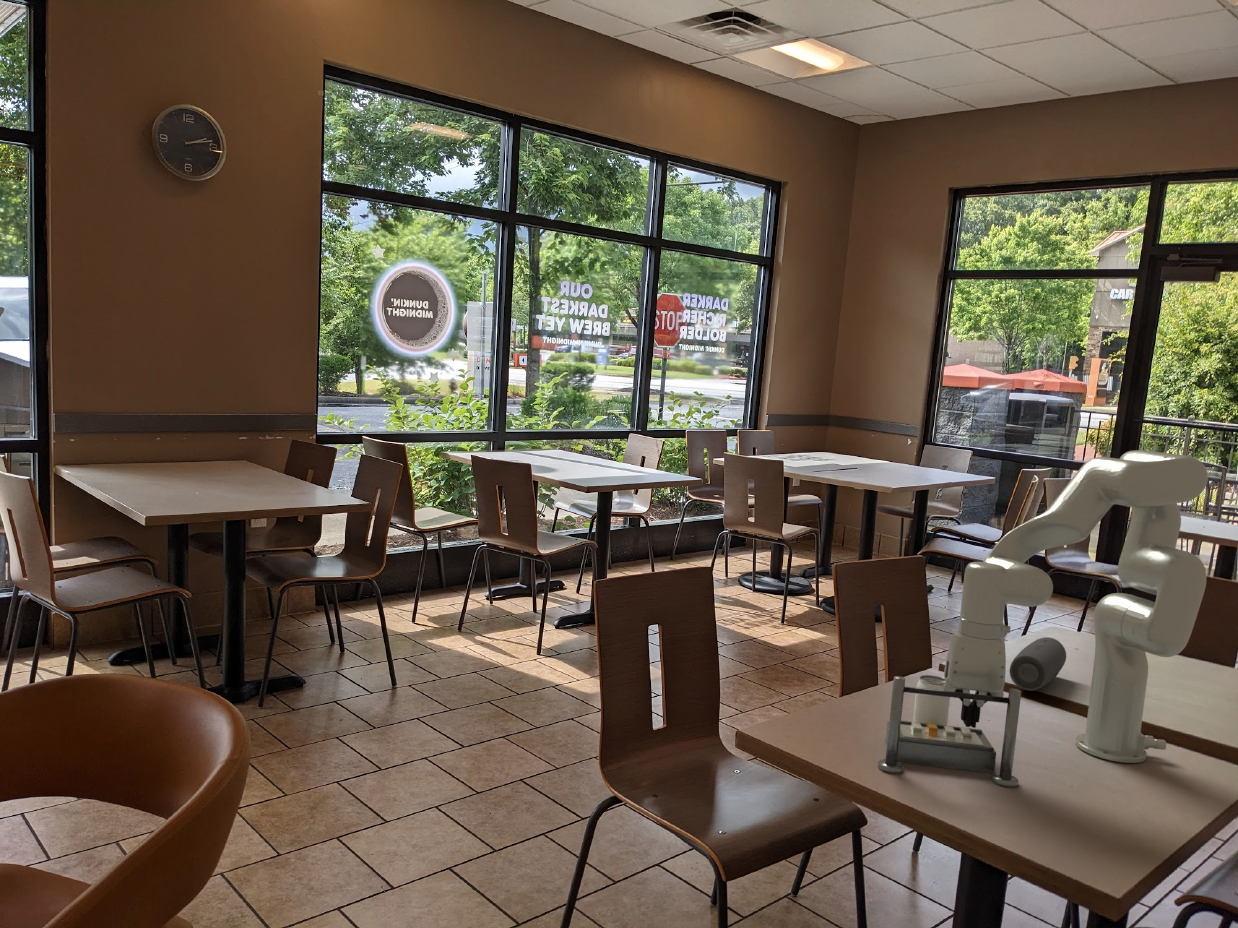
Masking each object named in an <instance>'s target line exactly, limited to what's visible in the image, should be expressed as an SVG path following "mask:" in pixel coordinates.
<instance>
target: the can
mask: <svg viewBox="0 0 1238 928" xmlns="http://www.w3.org/2000/svg"><path fill="white" fill-rule="evenodd" d="M945 680H946V679H945V677H941V676H938V675H937V676H936V675H931V674H930V675H928V674H925V675H920V677H919V680H918V682H917V683H916V687H915V688H923V689H933V690H942V691H945V690H944V689H943V685H944V682H945ZM950 701H951V697H944V696H935V695H926V694H917V693H915V698H914V707H913V717H912V722H918V723H926V722H930V723H935V724H936V725H944V726H948V722H949V713H950V712H949V710H950V703H951V702H950Z"/></svg>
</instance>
